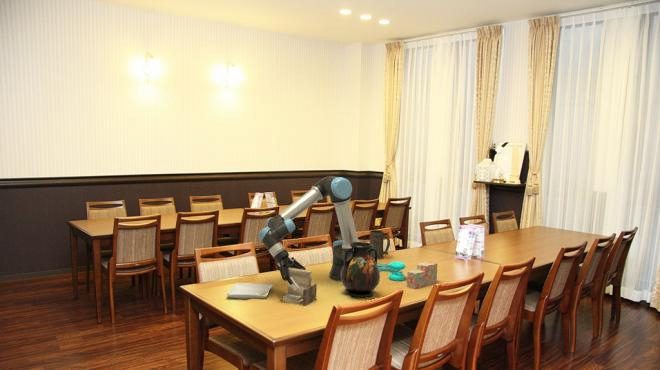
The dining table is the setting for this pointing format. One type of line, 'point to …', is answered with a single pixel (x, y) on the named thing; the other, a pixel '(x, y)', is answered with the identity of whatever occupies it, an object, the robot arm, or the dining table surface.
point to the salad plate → (249, 290)
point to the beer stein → (378, 243)
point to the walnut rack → (308, 295)
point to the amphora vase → (360, 271)
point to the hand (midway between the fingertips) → (303, 285)
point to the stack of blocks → (422, 275)
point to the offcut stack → (293, 299)
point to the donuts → (397, 275)
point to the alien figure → (386, 268)
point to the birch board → (299, 281)
